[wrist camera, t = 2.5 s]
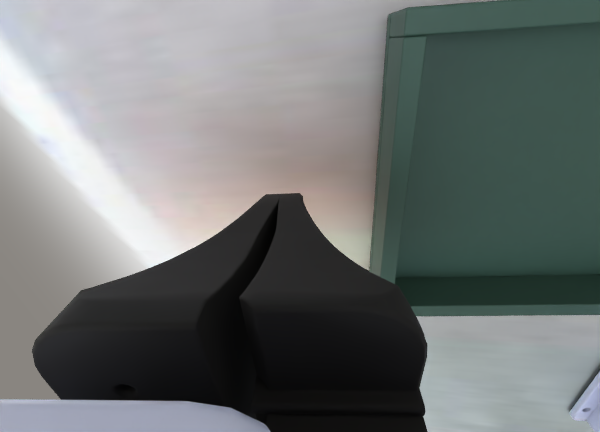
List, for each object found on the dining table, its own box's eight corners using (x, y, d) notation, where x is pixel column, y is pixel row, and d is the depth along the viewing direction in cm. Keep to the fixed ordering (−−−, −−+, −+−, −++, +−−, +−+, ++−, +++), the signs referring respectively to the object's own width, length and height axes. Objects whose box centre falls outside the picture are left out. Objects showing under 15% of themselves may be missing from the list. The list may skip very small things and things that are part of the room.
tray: (645, 277, 16) (698, 314, 14) (368, 281, 17) (376, 317, 15) (849, -21, 9) (1008, -39, 7) (387, 14, 10) (406, 7, 8)
